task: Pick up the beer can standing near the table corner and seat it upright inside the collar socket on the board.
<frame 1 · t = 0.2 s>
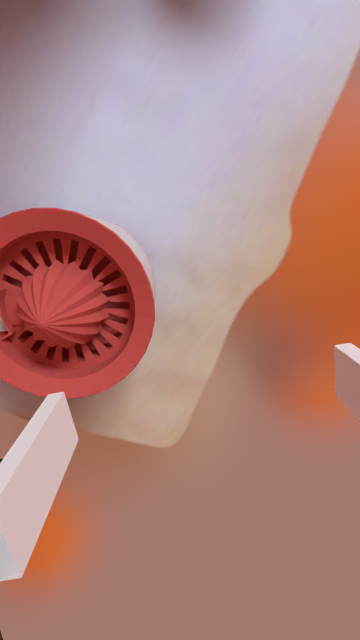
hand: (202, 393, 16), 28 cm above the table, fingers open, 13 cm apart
citrus juicer: (93, 277, 42), on the table
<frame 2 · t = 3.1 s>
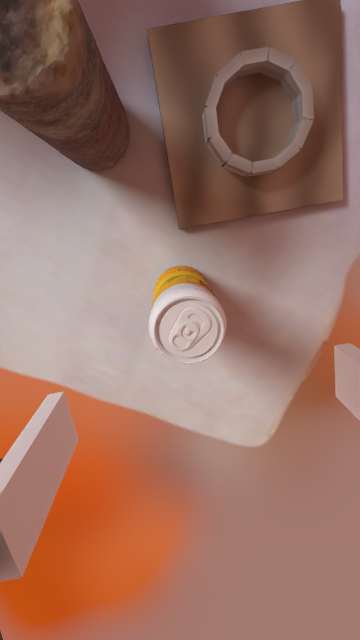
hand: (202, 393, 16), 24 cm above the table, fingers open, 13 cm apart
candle: (94, 131, 33), on the table
can holder: (250, 124, 33), on the table
beer can: (180, 289, 38), on the table
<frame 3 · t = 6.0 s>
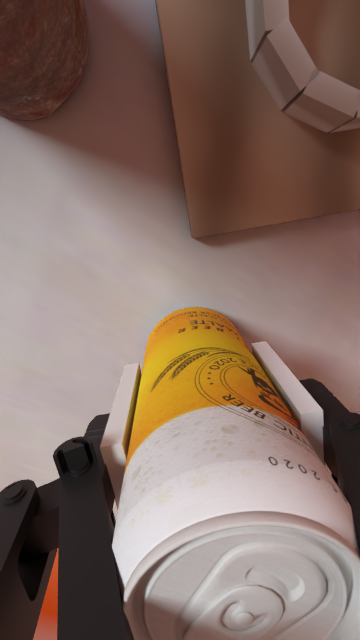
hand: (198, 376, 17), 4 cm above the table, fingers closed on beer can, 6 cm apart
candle: (18, 37, 16), on the table
can holder: (340, 24, 16), on the table
beer can: (193, 347, 21), on the table, touching gripper
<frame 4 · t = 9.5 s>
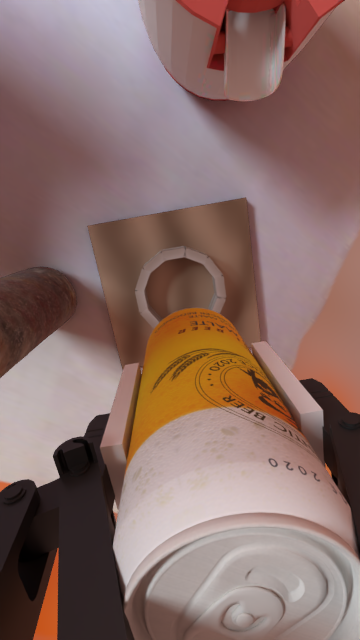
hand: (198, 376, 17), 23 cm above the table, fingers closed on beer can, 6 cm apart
citrus juicer: (217, 45, 33), on the table
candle: (48, 294, 39), on the table
can holder: (179, 287, 40), on the table
beer can: (193, 348, 21), point 19 cm above the table, touching gripper
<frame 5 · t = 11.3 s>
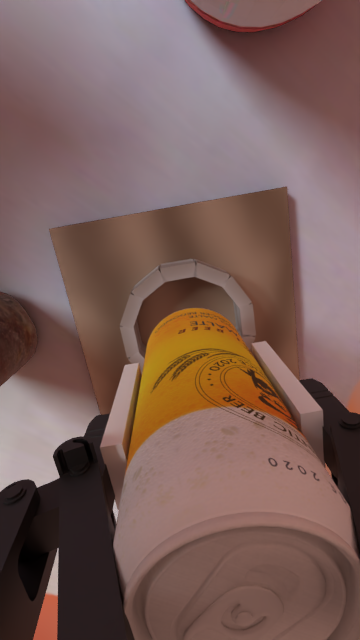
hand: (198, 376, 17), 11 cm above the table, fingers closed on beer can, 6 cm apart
can holder: (185, 317, 28), on the table
beer can: (193, 348, 21), point 7 cm above the table, touching gripper
when the fingers open (6 cm above the table, at t = 13.1 s): beer can stays where it is, resting on can holder.
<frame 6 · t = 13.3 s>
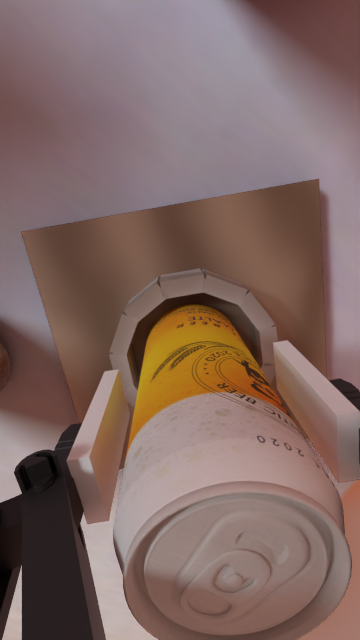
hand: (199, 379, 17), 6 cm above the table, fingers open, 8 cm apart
can holder: (191, 338, 23), on the table
beer can: (191, 343, 22), point 1 cm above the table, touching can holder
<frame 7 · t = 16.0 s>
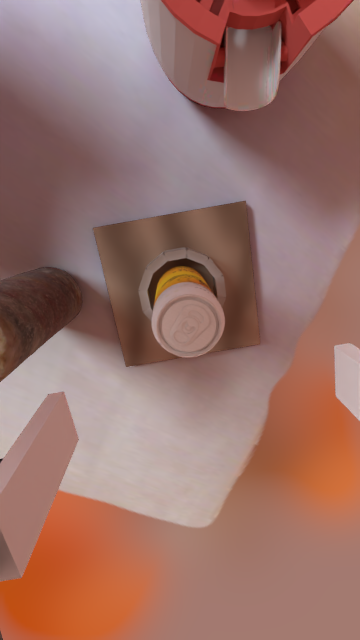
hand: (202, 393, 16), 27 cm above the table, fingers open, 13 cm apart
citrus juicer: (218, 55, 34), on the table
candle: (54, 293, 41), on the table
can holder: (181, 287, 41), on the table
beer can: (181, 289, 40), point 1 cm above the table, touching can holder
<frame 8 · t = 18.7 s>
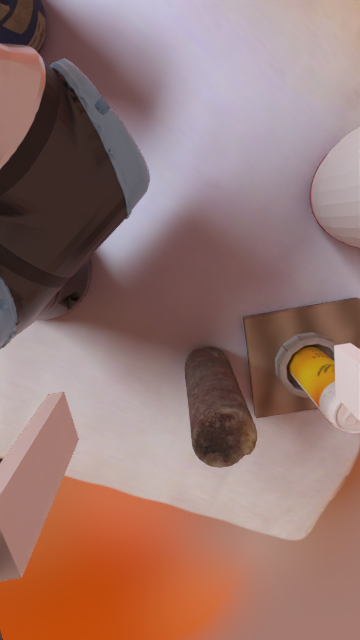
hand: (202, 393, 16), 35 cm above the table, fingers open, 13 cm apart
citrus juicer: (347, 198, 47), on the table
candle: (205, 363, 53), on the table
can holder: (302, 358, 53), on the table
canister: (11, 25, 39), on the table
beer can: (304, 361, 52), point 1 cm above the table, touching can holder
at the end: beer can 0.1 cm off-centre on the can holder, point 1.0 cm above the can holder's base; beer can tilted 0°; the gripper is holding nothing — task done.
